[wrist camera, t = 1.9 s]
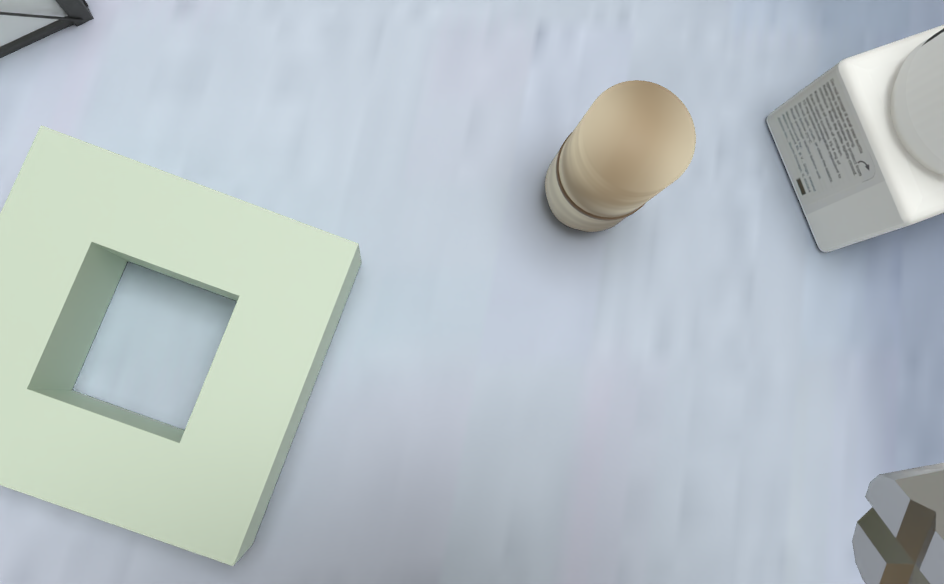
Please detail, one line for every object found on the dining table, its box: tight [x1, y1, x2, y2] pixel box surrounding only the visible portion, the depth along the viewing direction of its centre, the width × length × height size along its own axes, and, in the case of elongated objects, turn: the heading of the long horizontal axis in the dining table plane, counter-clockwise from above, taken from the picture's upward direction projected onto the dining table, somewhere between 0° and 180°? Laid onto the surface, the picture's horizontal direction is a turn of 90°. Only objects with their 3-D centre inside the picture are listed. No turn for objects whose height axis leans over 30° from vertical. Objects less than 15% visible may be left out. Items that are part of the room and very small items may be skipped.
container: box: [766, 25, 944, 252], centre depth 38 cm, size 8×8×13 cm
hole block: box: [0, 126, 361, 566], centre depth 37 cm, size 14×14×5 cm
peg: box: [545, 80, 696, 232], centre depth 38 cm, size 4×4×10 cm
